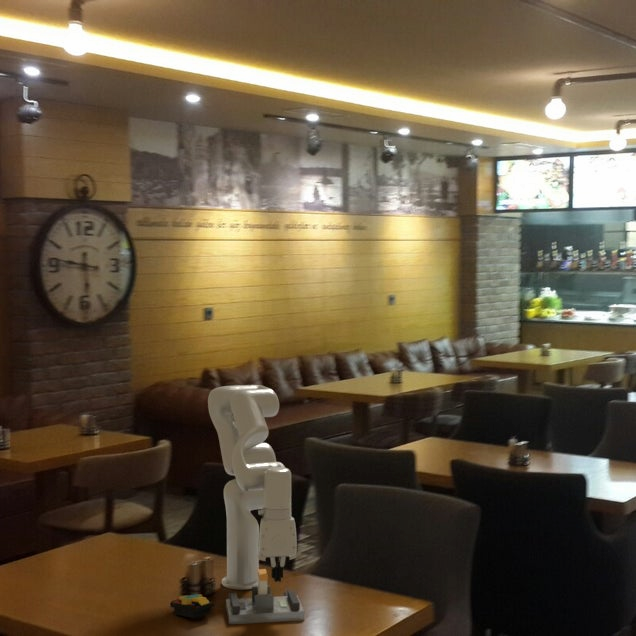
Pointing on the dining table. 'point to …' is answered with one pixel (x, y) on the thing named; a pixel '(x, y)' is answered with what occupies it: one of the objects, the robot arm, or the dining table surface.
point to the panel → (263, 609)
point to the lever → (262, 581)
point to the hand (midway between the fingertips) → (277, 580)
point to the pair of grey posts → (288, 593)
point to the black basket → (192, 606)
